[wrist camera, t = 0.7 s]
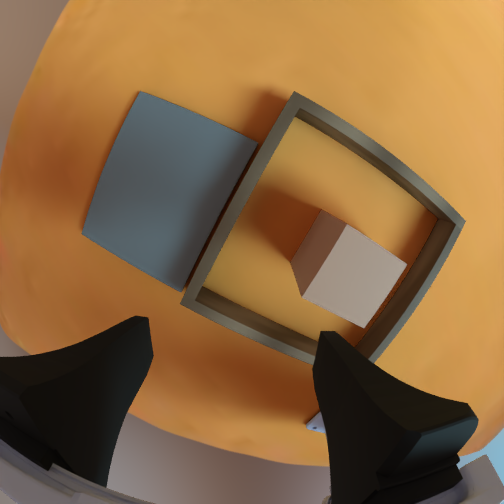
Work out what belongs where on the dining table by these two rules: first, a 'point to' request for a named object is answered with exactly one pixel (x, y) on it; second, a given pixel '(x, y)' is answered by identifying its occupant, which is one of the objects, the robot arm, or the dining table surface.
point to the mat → (165, 187)
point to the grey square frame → (409, 289)
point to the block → (344, 270)
